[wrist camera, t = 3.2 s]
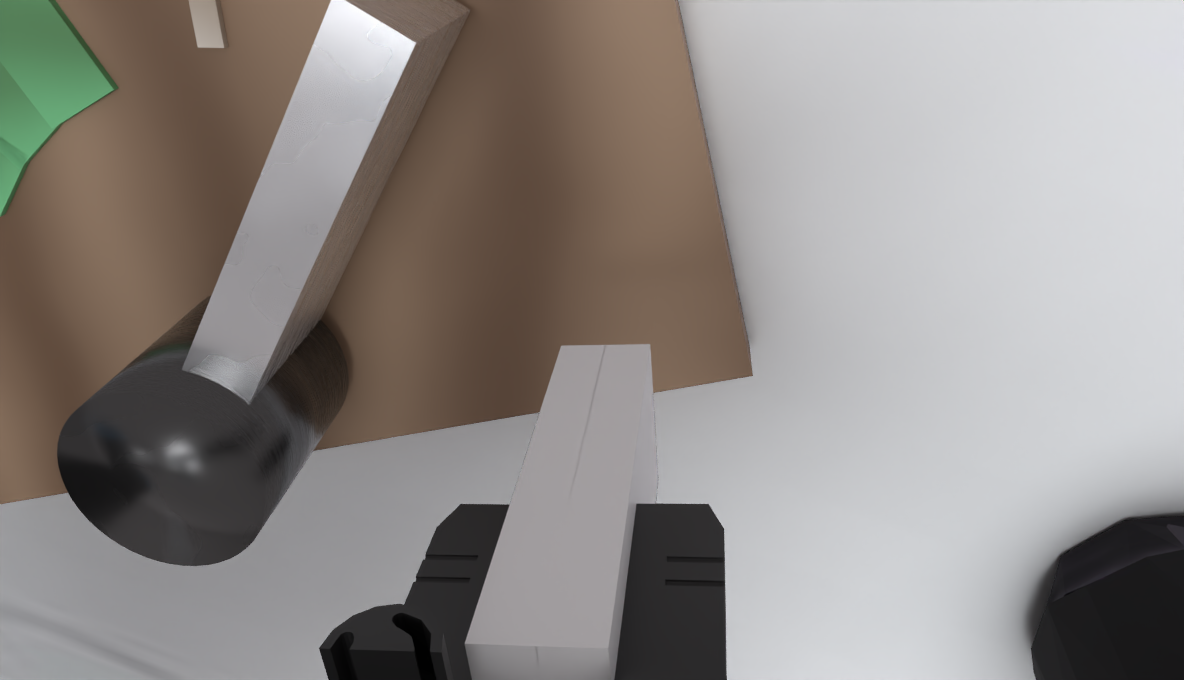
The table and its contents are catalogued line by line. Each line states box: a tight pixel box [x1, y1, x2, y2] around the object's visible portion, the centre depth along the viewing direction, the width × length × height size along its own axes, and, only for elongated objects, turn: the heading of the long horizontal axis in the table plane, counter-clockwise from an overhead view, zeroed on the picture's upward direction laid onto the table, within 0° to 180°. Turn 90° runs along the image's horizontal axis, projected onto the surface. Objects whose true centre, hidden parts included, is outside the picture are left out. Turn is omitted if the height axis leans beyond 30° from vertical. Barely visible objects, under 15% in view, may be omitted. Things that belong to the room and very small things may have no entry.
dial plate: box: [0, 0, 753, 504], centre depth 22 cm, size 24×14×2 cm, turn 105°
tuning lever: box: [57, 0, 470, 566], centre depth 19 cm, size 13×4×5 cm, turn 150°
